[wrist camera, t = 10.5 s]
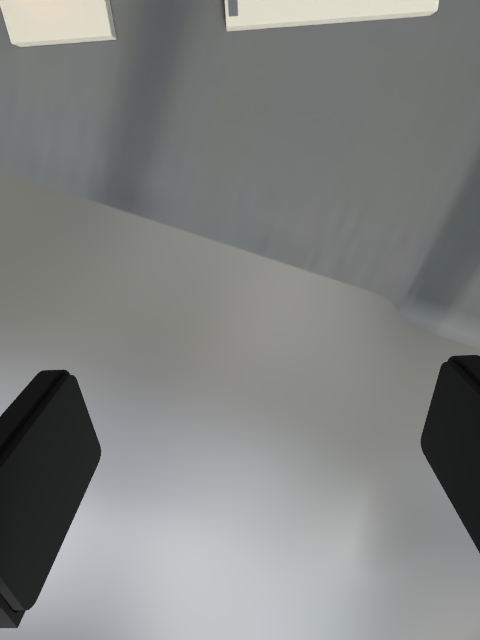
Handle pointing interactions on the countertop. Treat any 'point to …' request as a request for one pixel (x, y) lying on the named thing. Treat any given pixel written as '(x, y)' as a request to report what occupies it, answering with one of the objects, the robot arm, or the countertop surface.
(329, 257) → the countertop surface
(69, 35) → the stub
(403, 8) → the cream panel with window
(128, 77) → the countertop surface
